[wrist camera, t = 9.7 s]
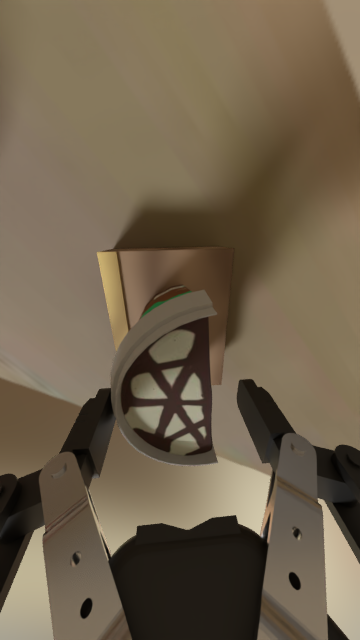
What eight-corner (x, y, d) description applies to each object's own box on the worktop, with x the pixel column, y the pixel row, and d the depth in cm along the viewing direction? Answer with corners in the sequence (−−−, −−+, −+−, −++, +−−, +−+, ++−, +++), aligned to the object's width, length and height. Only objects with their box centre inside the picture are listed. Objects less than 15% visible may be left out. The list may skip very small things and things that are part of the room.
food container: (113, 276, 16) (65, 321, 7) (181, 268, 17) (217, 301, 8) (138, 382, 21) (129, 487, 12) (190, 373, 22) (218, 467, 13)
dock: (218, 246, 21) (235, 248, 16) (211, 360, 28) (221, 386, 23) (112, 249, 20) (96, 252, 15) (131, 365, 27) (124, 393, 22)
